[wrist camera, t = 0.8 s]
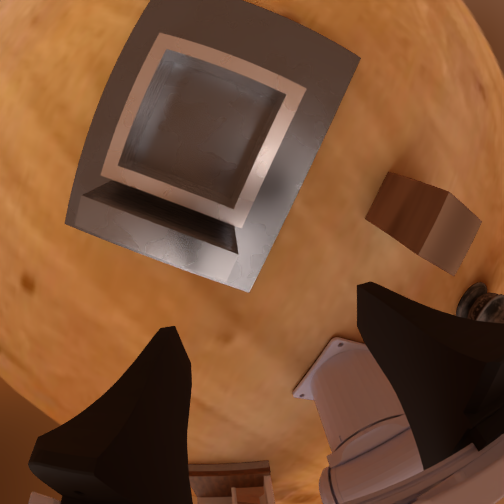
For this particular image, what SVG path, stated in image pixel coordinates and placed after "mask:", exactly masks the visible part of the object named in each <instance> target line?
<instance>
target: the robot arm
mask: <svg viewBox="0 0 504 504" xmlns="http://www.w3.org/2000/svg"><path fill="white" fill-rule="evenodd" d="M357 327H358V329H359V331H360V334H361V336H362V338H363V340H364V342H365V344H363V343H359V342H355V341H351V340H347V339H343V338H339V337H335V338H333V339H331V341H330V342H329V344H328V345H327V346H326V348H325V349H324V351H323V352H322V353H321V355H320V356H319V358H318V359H317V360H316V362H315V363H314V365H313V366H312V367H311V369H310V370H309V371H308V373H307V374H306V375H305V377H304V378H303V379H302V381H301V382H300V383H299V385H298V386H297V387H296V389H295V390H294V391H293V397H295V398H302V399H309V400H314V401H315V404H316V407H317V409H318V412H319V415H320V418H321V421H322V424H323V427H324V430H325V433H326V436H327V439H328V442H329V445H330V448H331V451H332V454H330V455H328V456H327V459H328V462H329V465H330V466H329V467H326V468H324V469H323V471H322V474H321V477H320V479H319V491H320V495H321V499H322V502H323V504H495V503H496V502H498V501H499V500H500V499H501V498H503V497H504V323H493V322H484V321H477V320H472V319H467V318H462V317H458V316H454V315H451V314H448V313H444V312H441V311H438V310H435V309H432V308H430V307H427V306H425V305H422V304H420V303H417V302H415V301H413V300H410V299H408V298H406V297H404V296H402V295H399V294H397V293H395V292H393V291H391V290H389V289H387V288H385V287H382V286H380V285H378V284H376V283H373V282H367V283H364V284H360V285H357ZM339 343H341V344H339ZM191 388H192V375H191V362H190V360H189V358H188V355H187V353H186V351H185V349H184V346H183V344H182V342H181V339H180V337H179V334H178V332H177V330H176V327H175V326H171V327H165V328H160V329H159V331H158V332H157V333H156V334H155V335H154V337H153V338H152V339H151V341H150V342H149V343H148V345H147V346H146V347H145V348H144V350H143V351H142V352H141V354H140V355H139V356H138V357H137V359H136V360H135V361H134V362H133V364H132V365H131V366H130V367H129V368H128V369H127V371H126V372H125V373H124V374H123V375H122V376H121V378H120V379H119V380H118V381H117V382H116V383H115V384H114V385H113V386H112V387H111V388H110V389H109V390H108V391H107V392H106V393H105V394H104V395H102V396H101V397H100V398H99V399H98V400H96V401H95V402H94V403H93V404H91V405H90V406H89V407H88V408H87V409H85V410H84V411H83V412H81V413H80V414H78V415H77V416H75V417H74V418H72V419H71V420H69V421H68V422H66V423H64V424H63V425H61V426H59V427H58V428H56V429H54V430H52V431H50V432H48V433H46V434H44V435H42V436H39V437H38V439H37V441H36V443H35V446H34V449H33V451H32V454H31V457H30V460H29V463H28V465H29V468H30V470H31V471H32V472H33V474H34V475H35V476H37V477H38V478H39V479H40V480H41V481H43V482H44V483H45V484H47V485H48V486H49V487H51V488H52V489H54V490H55V491H57V492H58V493H59V494H61V495H62V500H61V502H60V501H58V500H56V499H54V498H51V497H48V496H45V495H41V494H39V493H36V492H32V493H31V496H30V500H29V503H28V504H193V502H192V495H191V488H190V480H189V468H188V454H187V429H188V418H189V408H190V398H191Z"/></svg>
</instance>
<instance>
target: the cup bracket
mask: <svg viewBox="0 0 504 504" xmlns="http://www.w3.org/2000/svg"><path fill="white" fill-rule="evenodd" d="M360 59H361V58H360V57H359V56H357V55H356V54H354V53H352V52H351V51H349V50H347V49H346V48H344V47H342V46H341V45H339V44H337V43H335V42H334V41H332V40H330V39H328V38H326V37H324V36H323V35H321V34H319V33H317V32H315V31H313V30H311V29H309V28H307V27H305V26H303V25H301V24H299V23H297V22H294V21H292V20H290V19H288V18H286V17H283V16H281V15H279V14H276V13H274V12H272V11H269V10H267V9H264V8H262V7H259V6H256V5H254V4H251V3H248V2H246V1H243V0H150V2H149V3H148V5H147V7H146V8H145V10H144V12H143V13H142V15H141V17H140V18H139V20H138V22H137V24H136V25H135V27H134V29H133V31H132V33H131V34H130V36H129V38H128V40H127V42H126V44H125V46H124V48H123V50H122V52H121V54H120V56H119V58H118V60H117V62H116V64H115V66H114V68H113V71H112V73H111V75H110V77H109V80H108V82H107V84H106V87H105V89H104V91H103V94H102V96H101V99H100V101H99V104H98V106H97V109H96V112H95V114H94V117H93V120H92V123H91V126H90V129H89V132H88V135H87V138H86V141H85V144H84V147H83V150H82V154H81V157H80V160H79V164H78V168H77V171H76V175H75V179H74V183H73V187H72V191H71V196H70V200H69V205H68V209H67V214H66V220H65V224H67V225H69V226H72V227H74V228H76V229H79V230H81V231H84V232H86V233H89V234H91V235H94V236H96V237H99V238H101V239H104V240H106V241H109V242H111V243H114V244H116V245H119V246H121V247H124V248H127V249H129V250H132V251H134V252H137V253H140V254H142V255H145V256H148V257H150V258H153V259H156V260H158V261H161V262H164V263H166V264H169V265H172V266H175V267H177V268H180V269H183V270H186V271H188V272H191V273H194V274H197V275H200V276H202V277H205V278H208V279H211V280H214V281H217V282H220V283H222V284H225V285H228V286H231V287H234V288H237V289H240V290H243V291H246V292H250V290H251V288H252V286H253V284H254V282H255V280H256V278H257V276H258V274H259V272H260V270H261V268H262V266H263V264H264V262H265V260H266V258H267V256H268V254H269V252H270V250H271V247H272V245H273V243H274V241H275V239H276V237H277V235H278V233H279V231H280V229H281V227H282V225H283V223H284V221H285V219H286V217H287V215H288V213H289V210H290V208H291V206H292V204H293V202H294V200H295V198H296V196H297V194H298V192H299V190H300V188H301V186H302V183H303V181H304V179H305V177H306V175H307V173H308V171H309V169H310V167H311V165H312V162H313V160H314V158H315V156H316V154H317V152H318V150H319V148H320V146H321V143H322V141H323V139H324V137H325V135H326V133H327V131H328V128H329V126H330V124H331V122H332V120H333V118H334V116H335V113H336V111H337V109H338V107H339V105H340V103H341V100H342V98H343V96H344V94H345V92H346V90H347V87H348V85H349V83H350V81H351V79H352V77H353V74H354V72H355V70H356V68H357V66H358V63H359V61H360Z"/></svg>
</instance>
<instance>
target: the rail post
mask: <svg viewBox="0 0 504 504" xmlns="http://www.w3.org/2000/svg"><path fill="white" fill-rule="evenodd" d="M365 219H366V220H368V221H369V222H371V223H372V224H374V225H375V226H377V227H378V228H380V229H381V230H383V231H384V232H386V233H387V234H389V235H390V236H392V237H393V238H394V239H396V240H397V241H399V242H400V243H402V244H403V245H404V246H406V247H407V248H409V249H410V250H411V251H413V252H414V253H416V254H417V255H418V256H420V257H422V258H424V259H425V260H427V261H429V262H431V263H432V264H434V265H436V266H437V267H439V268H441V269H442V270H444V271H446V272H447V273H449V274H451V275H452V276H455V274H456V272H457V270H458V269H459V267H460V265H461V263H462V261H463V259H464V258H465V256H466V254H467V252H468V250H469V248H470V246H471V244H472V242H473V240H474V238H475V236H476V233H477V231H478V229H479V227H480V225H481V223H482V221H481V220H480V219H479V218H478V217H477V216H476V215H475V214H474V213H472V212H471V211H470V210H469V209H468V208H467V207H466V206H465V205H464V204H463V203H462V202H460V201H459V200H458V199H457V198H456V197H455V196H454V195H452V194H451V193H450V192H448V191H446V190H443V189H440V188H437V187H434V186H432V185H429V184H426V183H423V182H420V181H417V180H413V179H410V178H407V177H404V176H401V175H397V174H394V173H391V172H388V173H387V175H386V177H385V179H384V181H383V183H382V185H381V187H380V189H379V192H378V194H377V196H376V198H375V200H374V202H373V204H372V206H371V208H370V210H369V212H368V214H367V216H366V218H365Z"/></svg>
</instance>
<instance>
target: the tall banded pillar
mask: <svg viewBox="0 0 504 504" xmlns="http://www.w3.org/2000/svg"><path fill="white" fill-rule="evenodd" d="M188 468H189V480H190V486H191V487H192V489H193V491H194V492H195V494H196V496H197V501H198V504H275V500H274V494H273V488H272V482H271V477H270V467H269V461H268V460H267V461H258V462H247V463H232V464H199V465H196V464H188Z"/></svg>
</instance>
